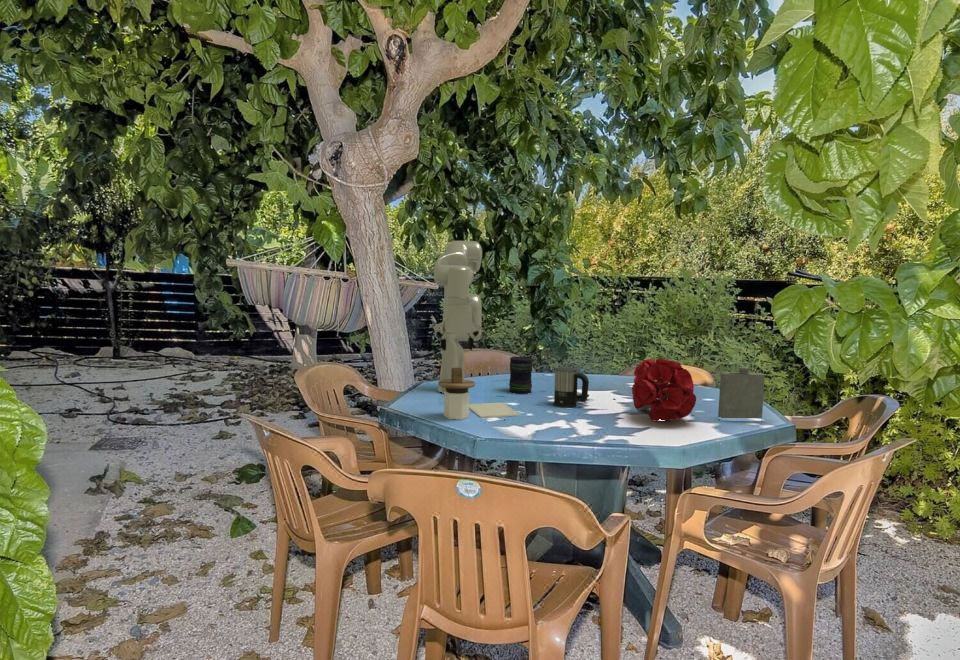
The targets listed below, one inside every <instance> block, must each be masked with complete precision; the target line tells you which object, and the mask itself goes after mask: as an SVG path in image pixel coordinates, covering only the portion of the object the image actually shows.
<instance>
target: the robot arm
mask: <svg viewBox="0 0 960 660" xmlns="http://www.w3.org/2000/svg"><path fill="white" fill-rule="evenodd" d="M445 247H446V248H445V252H442V253H440V254H439V256H438V259H437V260H436V261H435V264H434V268H433V279H434V282H435V284H436V285H438V286H440V287H441V286H442V287H444V290H443V291H444V293H443V294H444V297H443V306H444V309H443V314H442V322H440V323H438V324H436V325H434V326H433V327H432V328H433V330H434V332H435V334H436V336H438V338H439V339H440V348H441V380H446V379H451V368H461V369H462V379H464V380H465V351H464V348H463V347H462V345H461V344H460V343H459V342H467V348H468V350H470V351H472V350H473V348H474V346H475V345H474V344H475V343H474V342H478V341H479V340H480V339H481V338H482V315H483V314H482V312H483V310H482V307H483V306H482V298H481V296H480V295H479V294H477V293H470V286H471V285H472V283H473V281H474V277H475V276H474V273H477V272H479V270H480V268H481V264H482V260H483V259H482V258H483V248H482V246H481V244H480V242H479V241H475V240H452V241H450V242H449V243H447V245H446V246H445ZM439 329H440V330H439ZM438 391H439V392H438ZM445 391H446V389H445V388H444V387H440V386H439V387H438V388H437V392H438V393H440V392H442V393H441V394H443V393H445Z"/></svg>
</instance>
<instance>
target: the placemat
mask: <svg viewBox="0 0 960 660" xmlns="http://www.w3.org/2000/svg"><path fill="white" fill-rule="evenodd" d="M469 410H471V411H472V412H473V414H475V415H476V416H478V417H479V418H480V419H489V418H490V419H491V418H506V417H507V418H509V417H508V416H512V417H521V414H520V413H519V412H518V411H515V410H514V409H513V408H511V407H509V406H508V405H507V404H505V403H504V402H490V403H489V402H488V403H485V402H484V403H469Z"/></svg>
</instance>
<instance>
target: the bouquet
mask: <svg viewBox="0 0 960 660" xmlns="http://www.w3.org/2000/svg"><path fill="white" fill-rule="evenodd" d="M633 374H634V378H633V384H632V387H631V394H632V401H633V406H634V408H635V409H636V410H642V409H643V410H642V411H649V412H648V416H649V418H650V420H651V421H653V420H659V419H661V420H667V421H668V420H669V419H673V420H676V419H678V420H680V419H681V420H682V419H684V418H686V417H688V416H689V415H690V414H691V413H692V412H693V409H694V408H695V406H696V403H697V395H696V394H695V393H694V389H695V388H694V386H695V385H694V380H693V377H692V374H691V373H690V371H689V370H687V369H686V368H684V367H683V366H682V364H681V363H680V362H677V361H673V360H667V359H663V358H662V357H658V358H656V359H654V358H647V359H644V360H642V361H641V362H640V363H639V364H638V365H637V366H636V367H635V369H634V371H633ZM647 409H648V410H647Z"/></svg>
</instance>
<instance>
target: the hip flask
mask: <svg viewBox="0 0 960 660" xmlns="http://www.w3.org/2000/svg"><path fill="white" fill-rule="evenodd" d="M749 371H750V367H748V366H738V371H729V372H725V371H724V372H720V379H719V381H720V383H719V396H718V397H719V398H718V412H717V413H718V414H717V418H718V417H721V418H762V419H763V407H764V395H765V394H764V393H765V381H766V380H765V379H766V374H765V373H762V372H761V373H760V372H759V373H758V372H757V373H756V372H751V373H749Z"/></svg>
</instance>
